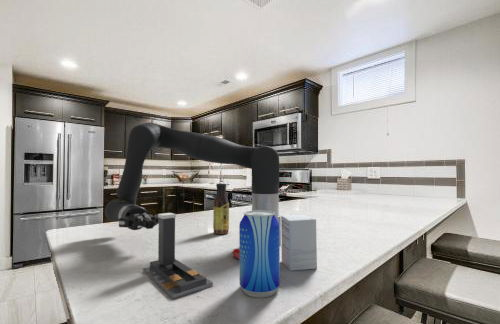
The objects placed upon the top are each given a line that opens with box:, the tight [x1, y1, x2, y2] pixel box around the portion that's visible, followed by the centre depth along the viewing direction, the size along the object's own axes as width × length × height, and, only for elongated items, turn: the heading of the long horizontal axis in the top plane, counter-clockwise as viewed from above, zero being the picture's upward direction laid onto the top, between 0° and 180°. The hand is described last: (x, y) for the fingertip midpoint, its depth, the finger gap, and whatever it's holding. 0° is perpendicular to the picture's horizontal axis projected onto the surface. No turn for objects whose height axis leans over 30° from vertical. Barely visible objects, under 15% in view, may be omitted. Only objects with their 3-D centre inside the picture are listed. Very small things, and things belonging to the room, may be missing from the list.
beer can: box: [238, 210, 281, 298], centre depth 54 cm, size 8×8×16 cm
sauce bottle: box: [212, 183, 230, 235], centre depth 104 cm, size 7×6×20 cm
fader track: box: [142, 258, 214, 300], centre depth 60 cm, size 18×9×2 cm, turn 40°
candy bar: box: [231, 248, 240, 260], centre depth 70 cm, size 16×4×3 cm, turn 41°
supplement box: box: [280, 214, 318, 272], centre depth 68 cm, size 7×7×13 cm
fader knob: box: [157, 212, 176, 269], centre depth 64 cm, size 4×3×13 cm
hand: (150, 225), depth 72 cm, fingers closed
